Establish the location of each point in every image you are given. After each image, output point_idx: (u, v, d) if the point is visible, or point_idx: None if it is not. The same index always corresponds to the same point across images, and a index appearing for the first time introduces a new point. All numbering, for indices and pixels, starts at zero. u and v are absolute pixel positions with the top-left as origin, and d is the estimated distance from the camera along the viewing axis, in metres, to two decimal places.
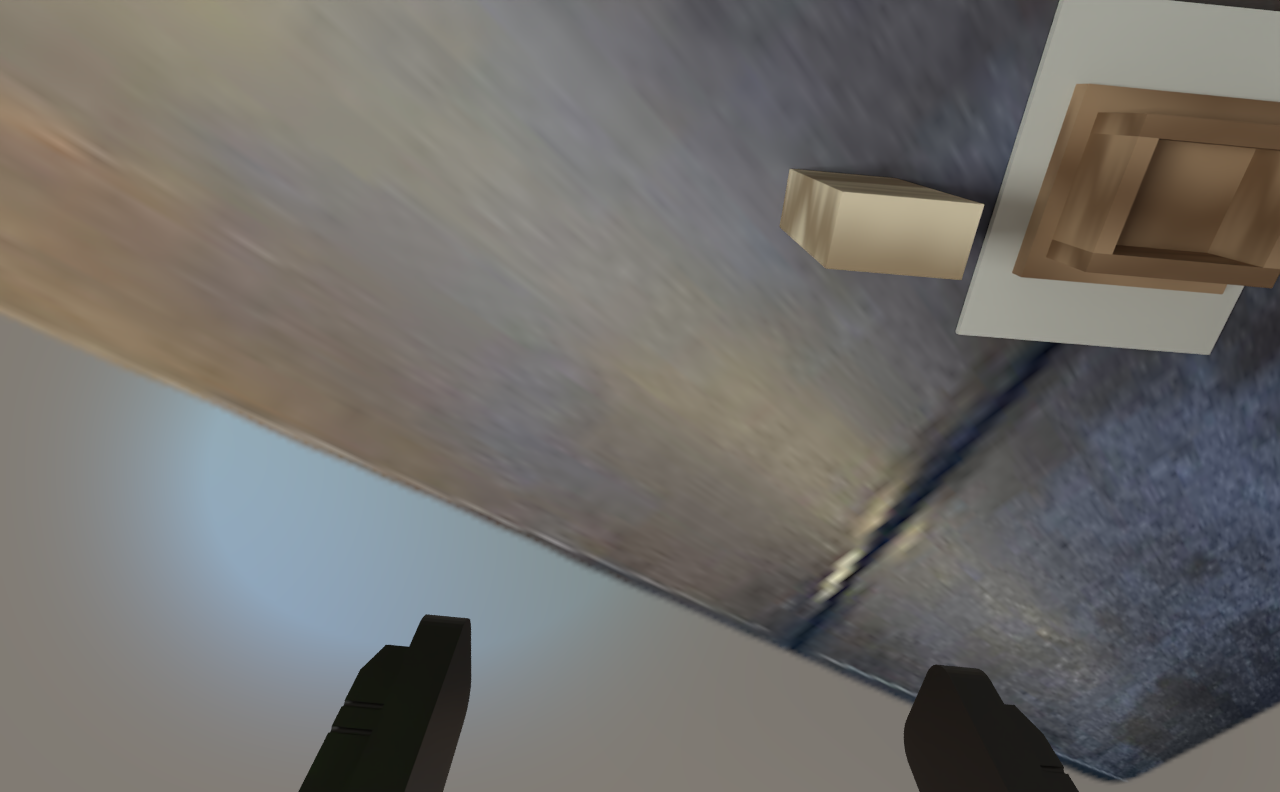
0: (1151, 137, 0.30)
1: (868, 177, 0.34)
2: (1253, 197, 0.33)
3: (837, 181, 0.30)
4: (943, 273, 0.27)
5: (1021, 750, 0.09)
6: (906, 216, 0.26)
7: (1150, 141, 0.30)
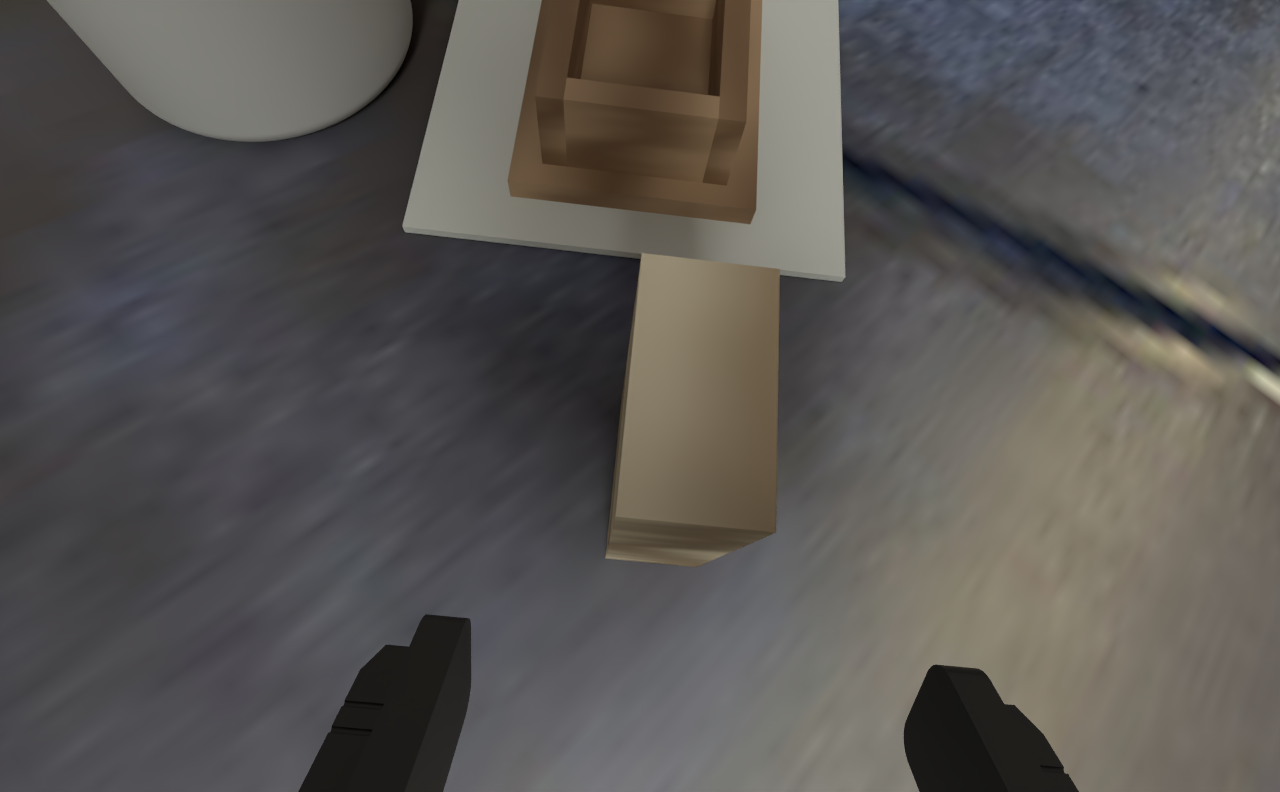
0: (565, 85, 0.22)
1: None
2: None
3: None
4: (769, 300, 0.14)
5: (1021, 750, 0.09)
6: (664, 381, 0.13)
7: (570, 85, 0.22)
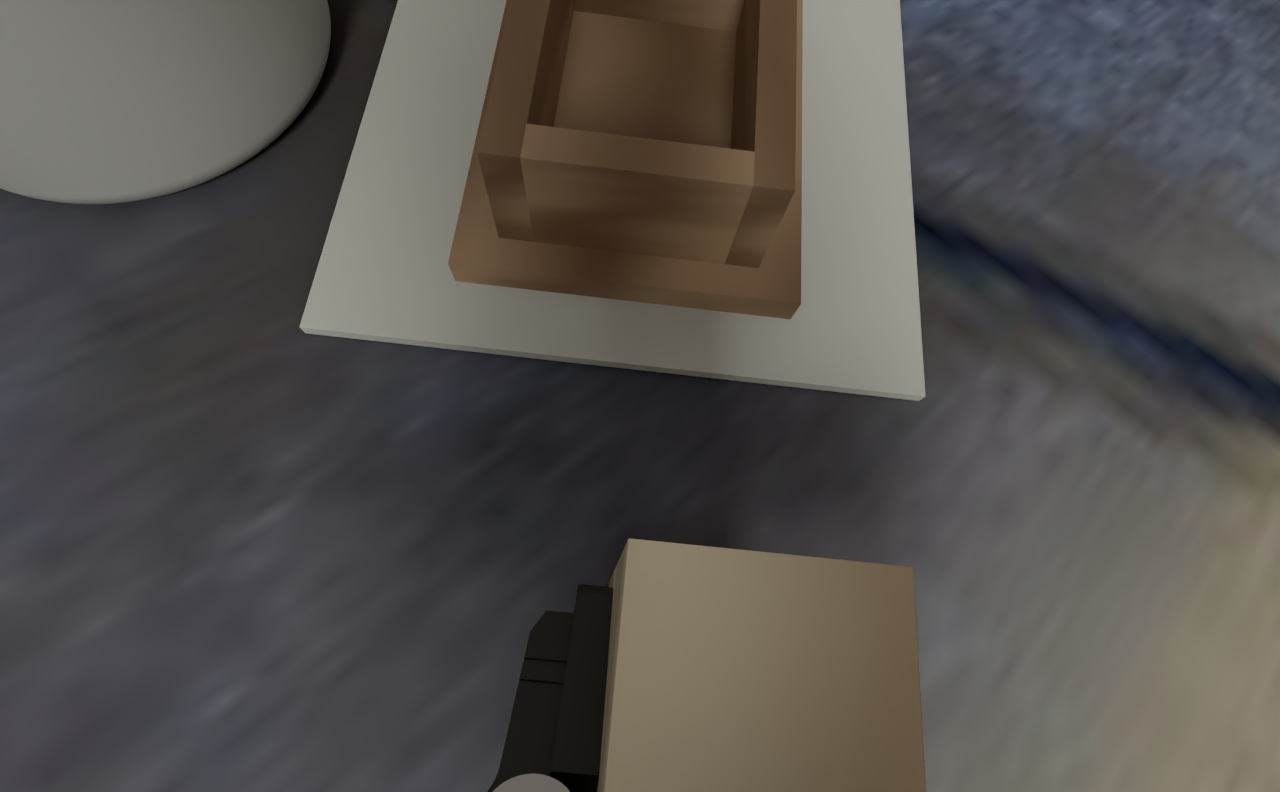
0: (523, 136, 0.15)
1: None
2: None
3: None
4: (898, 647, 0.07)
5: None
6: None
7: (531, 136, 0.15)
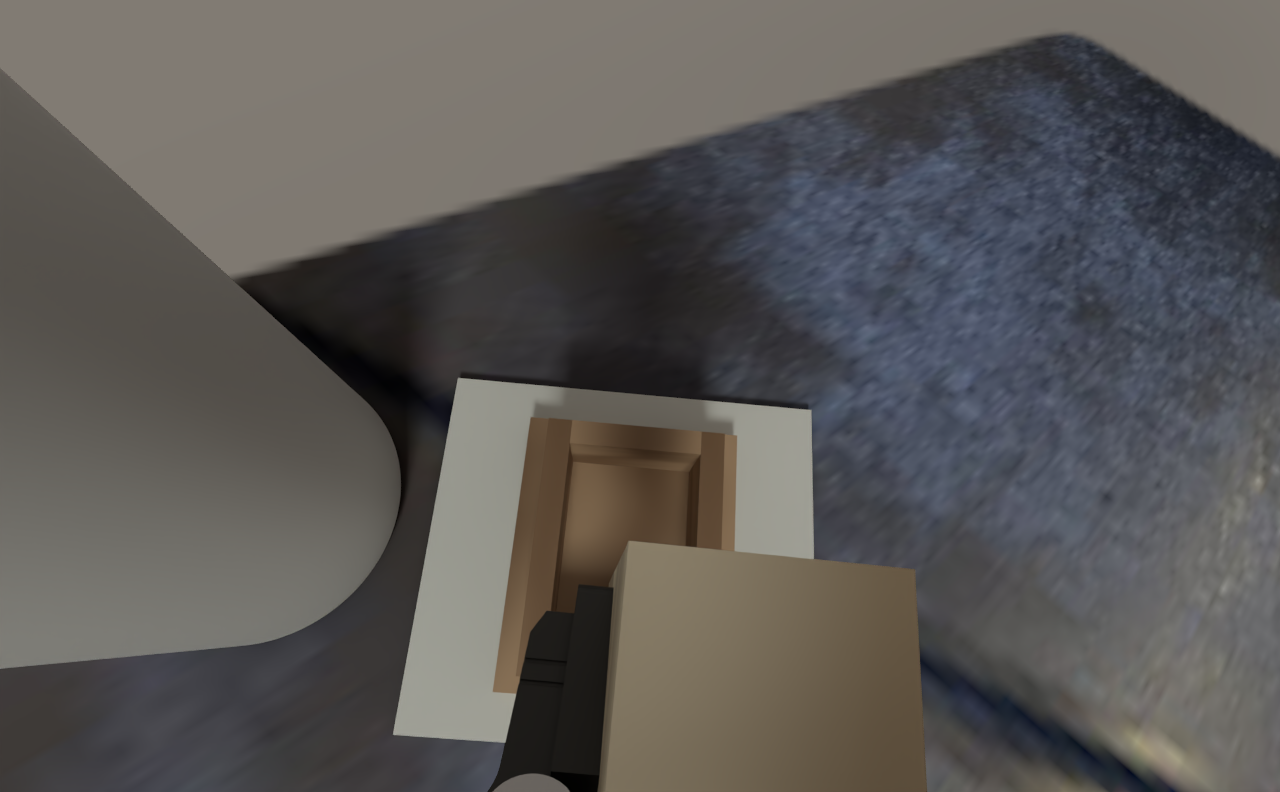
0: None
1: None
2: (622, 460, 0.28)
3: None
4: (899, 650, 0.07)
5: None
6: None
7: None
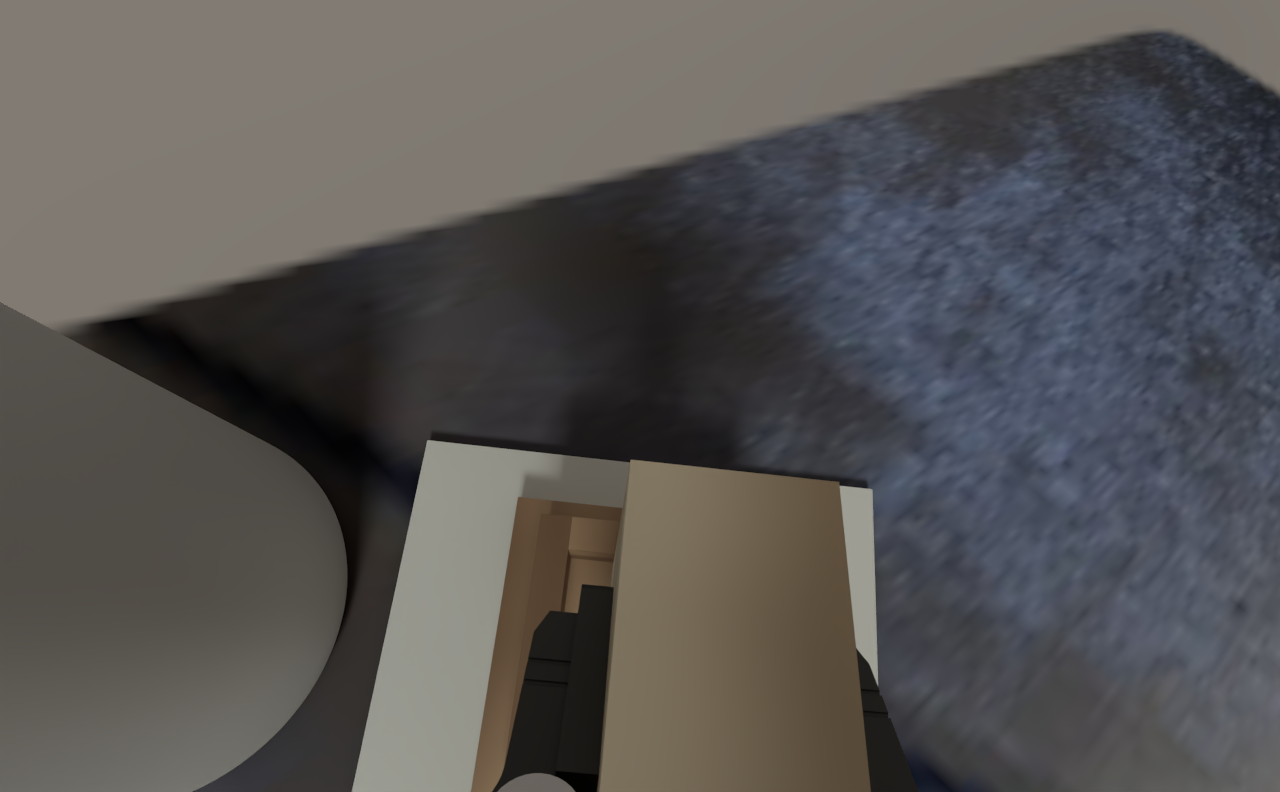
0: None
1: None
2: None
3: None
4: (830, 534, 0.09)
5: None
6: (670, 686, 0.08)
7: None
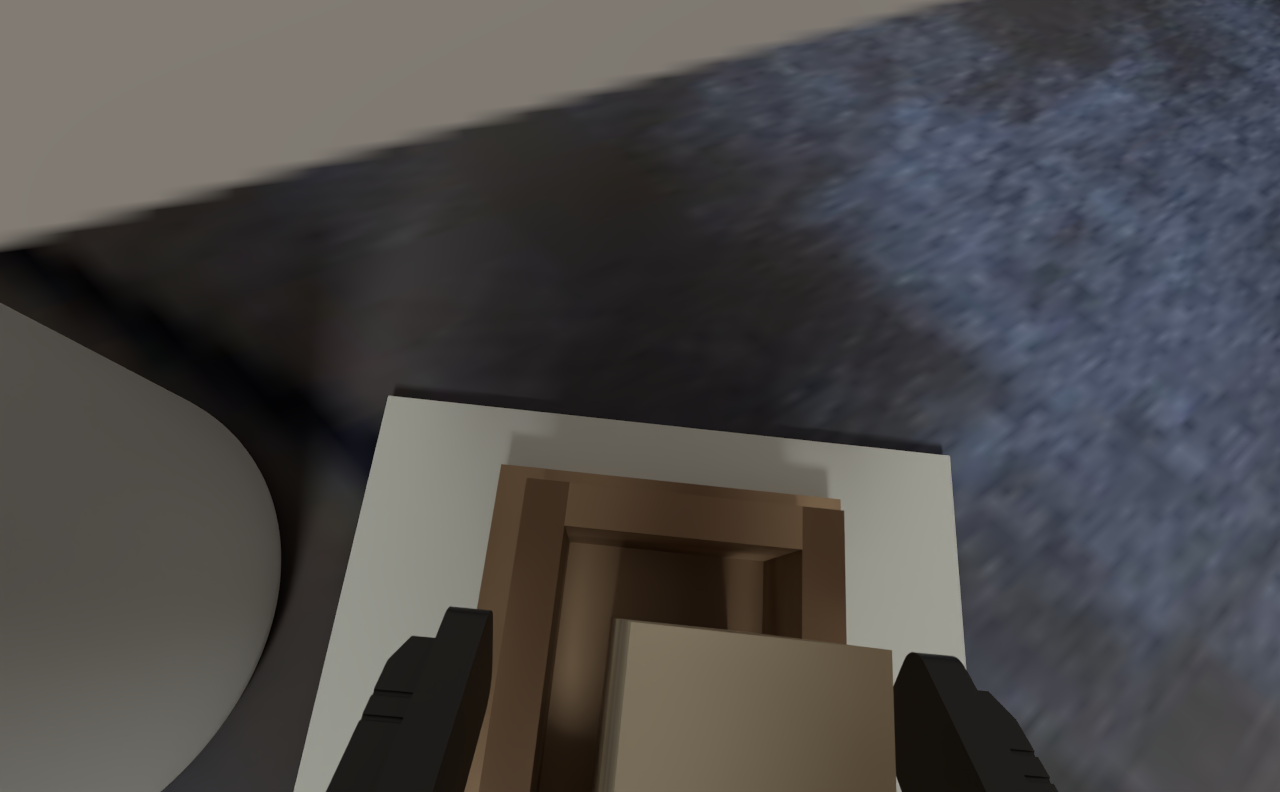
0: None
1: (602, 704, 0.15)
2: (655, 546, 0.17)
3: None
4: (876, 726, 0.07)
5: (992, 734, 0.09)
6: None
7: None
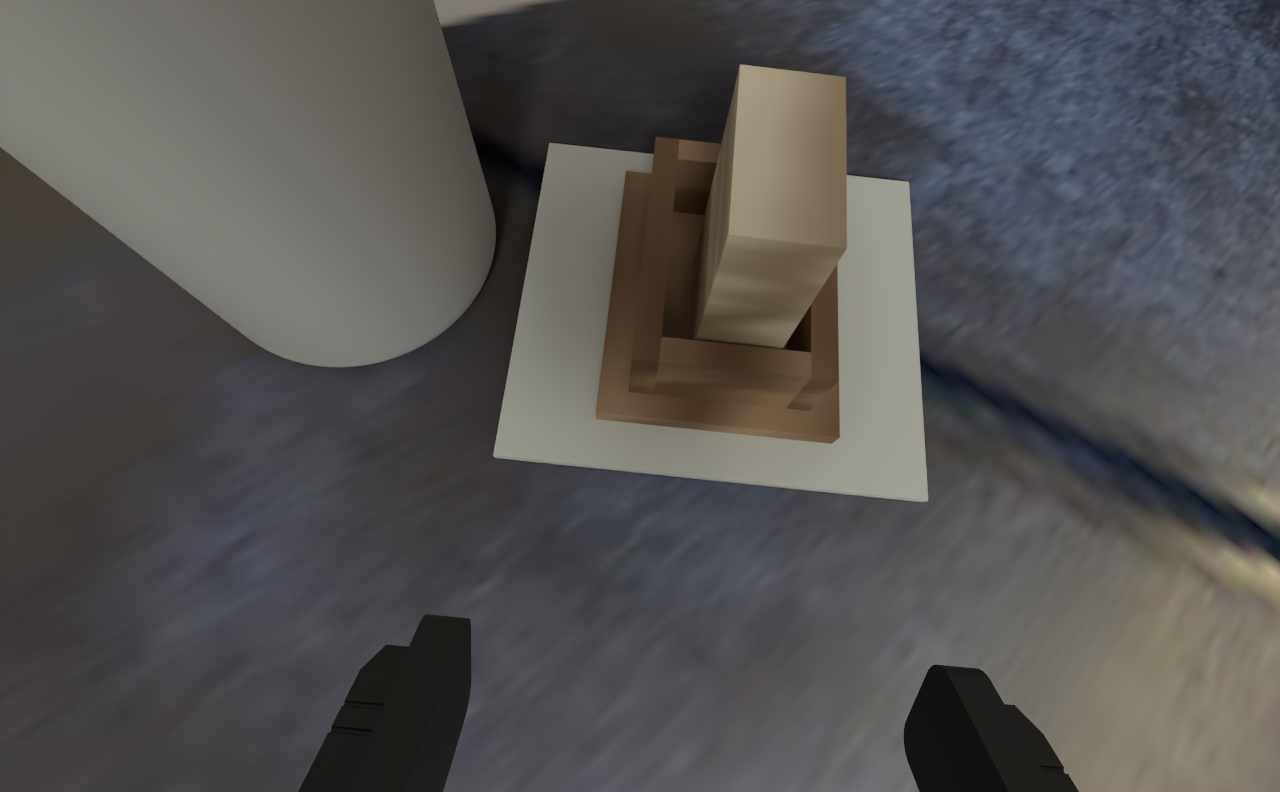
0: (660, 346, 0.23)
1: (697, 273, 0.26)
2: None
3: (706, 283, 0.21)
4: (838, 98, 0.18)
5: (1021, 750, 0.09)
6: (761, 149, 0.18)
7: (665, 346, 0.23)
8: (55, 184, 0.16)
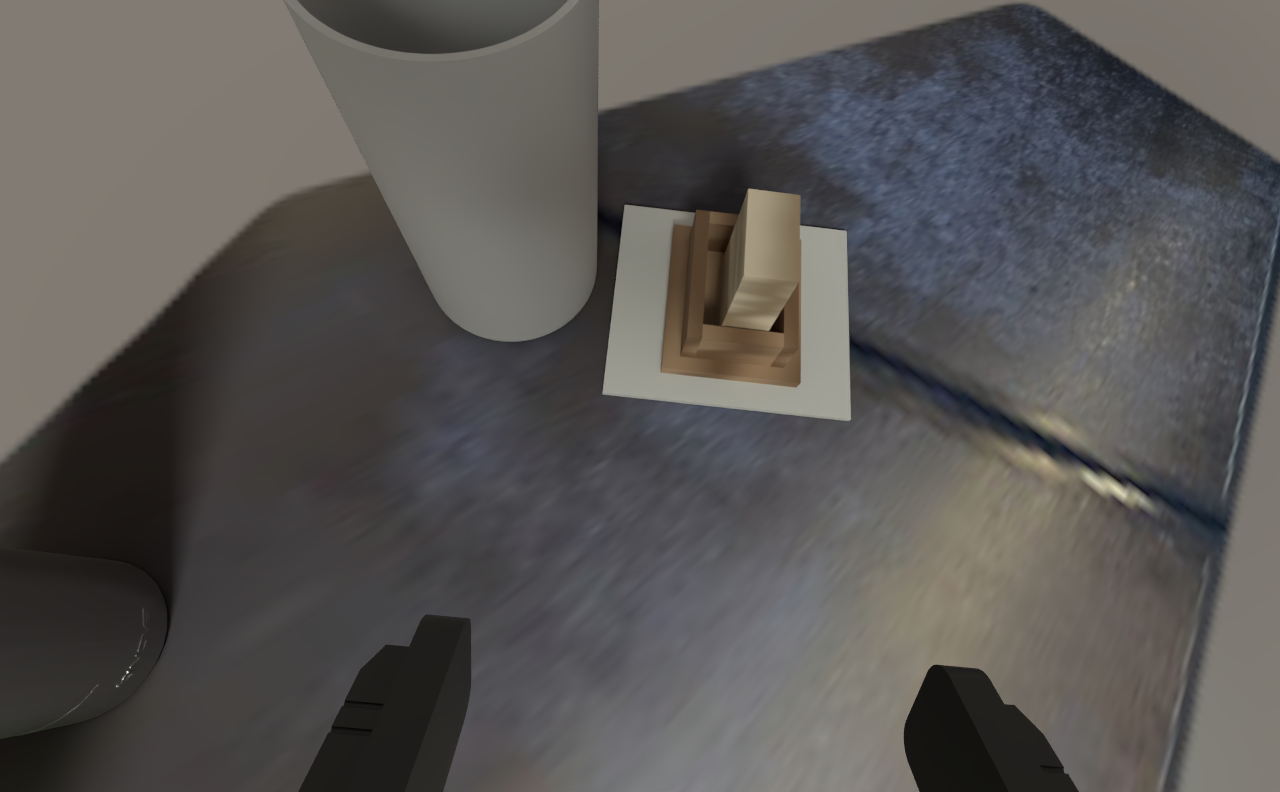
0: (702, 329, 0.42)
1: (719, 288, 0.45)
2: None
3: (728, 295, 0.40)
4: (796, 206, 0.38)
5: (1021, 750, 0.09)
6: (758, 233, 0.37)
7: (705, 329, 0.42)
8: (434, 250, 0.35)
